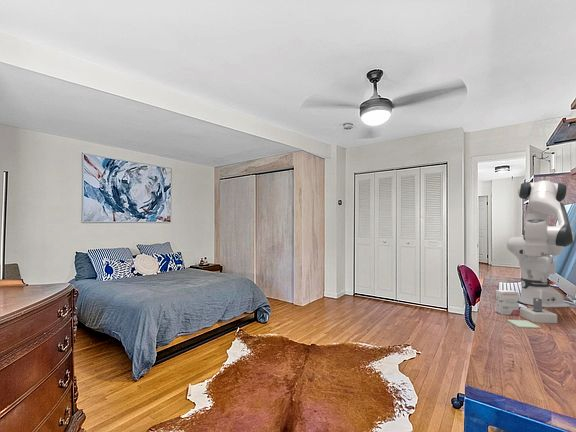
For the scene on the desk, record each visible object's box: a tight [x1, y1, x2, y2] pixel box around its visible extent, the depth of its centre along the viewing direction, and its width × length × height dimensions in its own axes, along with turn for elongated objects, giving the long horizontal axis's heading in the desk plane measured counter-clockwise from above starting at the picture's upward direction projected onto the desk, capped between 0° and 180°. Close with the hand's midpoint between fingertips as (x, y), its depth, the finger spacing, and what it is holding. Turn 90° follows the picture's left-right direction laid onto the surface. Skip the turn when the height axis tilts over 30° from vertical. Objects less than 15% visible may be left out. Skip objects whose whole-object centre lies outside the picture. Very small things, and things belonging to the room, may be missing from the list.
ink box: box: [495, 289, 520, 316], centre depth 151 cm, size 9×5×12 cm, turn 84°
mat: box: [506, 319, 542, 330], centre depth 135 cm, size 9×9×1 cm
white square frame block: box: [519, 307, 558, 324], centre depth 142 cm, size 10×10×4 cm
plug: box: [532, 298, 543, 312], centre depth 142 cm, size 3×3×10 cm
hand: (536, 280), depth 142 cm, fingers open, 8 cm apart
